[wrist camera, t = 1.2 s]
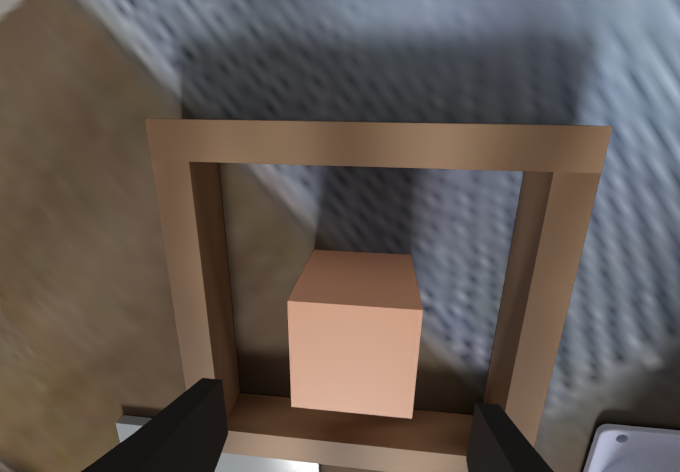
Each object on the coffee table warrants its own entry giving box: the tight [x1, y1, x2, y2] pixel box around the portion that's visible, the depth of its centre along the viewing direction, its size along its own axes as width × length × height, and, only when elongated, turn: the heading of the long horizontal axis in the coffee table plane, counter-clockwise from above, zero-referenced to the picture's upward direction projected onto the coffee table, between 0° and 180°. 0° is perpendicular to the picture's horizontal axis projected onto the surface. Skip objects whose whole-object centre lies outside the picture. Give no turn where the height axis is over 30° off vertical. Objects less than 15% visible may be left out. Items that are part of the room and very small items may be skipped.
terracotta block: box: [287, 250, 423, 419], centre depth 15 cm, size 4×4×5 cm
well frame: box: [145, 119, 613, 472], centre depth 16 cm, size 16×16×2 cm
